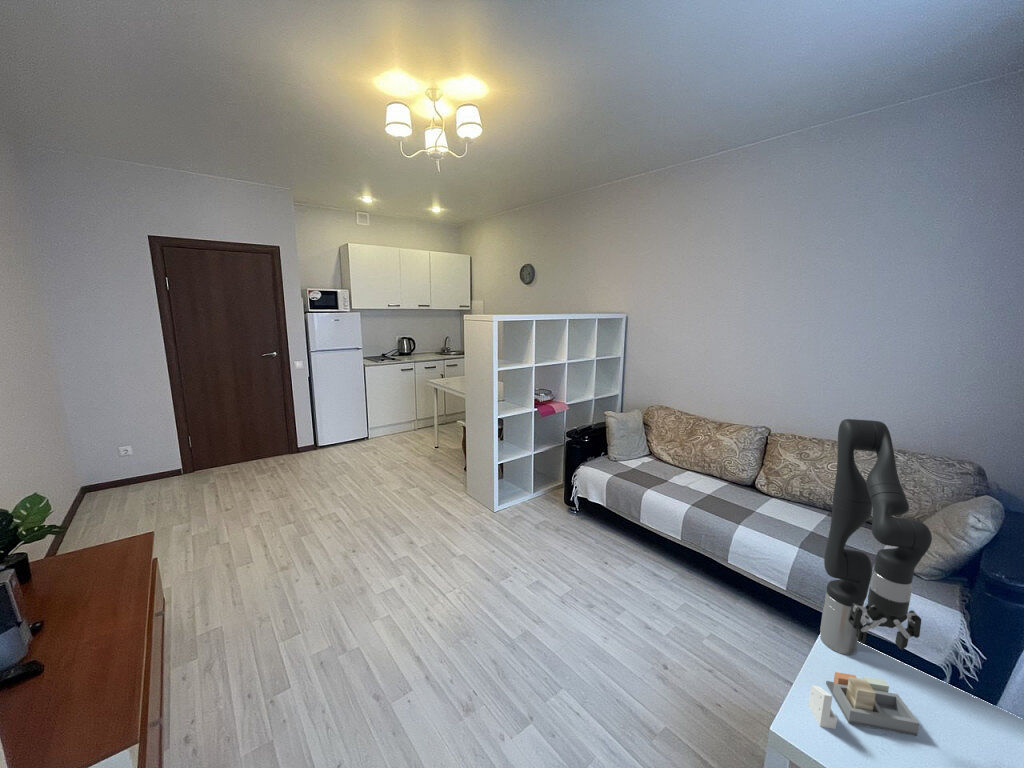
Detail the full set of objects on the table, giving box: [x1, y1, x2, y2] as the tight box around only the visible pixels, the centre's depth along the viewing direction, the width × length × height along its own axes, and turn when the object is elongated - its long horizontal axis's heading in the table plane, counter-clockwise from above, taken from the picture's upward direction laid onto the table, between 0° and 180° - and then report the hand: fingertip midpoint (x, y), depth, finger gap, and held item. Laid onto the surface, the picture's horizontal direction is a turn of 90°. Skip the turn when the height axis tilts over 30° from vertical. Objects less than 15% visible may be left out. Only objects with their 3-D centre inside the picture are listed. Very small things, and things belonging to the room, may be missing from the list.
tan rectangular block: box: [846, 677, 876, 712], centre depth 107 cm, size 4×4×8 cm
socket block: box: [825, 671, 920, 737], centre depth 108 cm, size 12×15×5 cm
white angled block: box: [808, 684, 838, 730], centre depth 105 cm, size 4×10×9 cm, turn 168°
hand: (879, 643), depth 104 cm, fingers open, 8 cm apart
